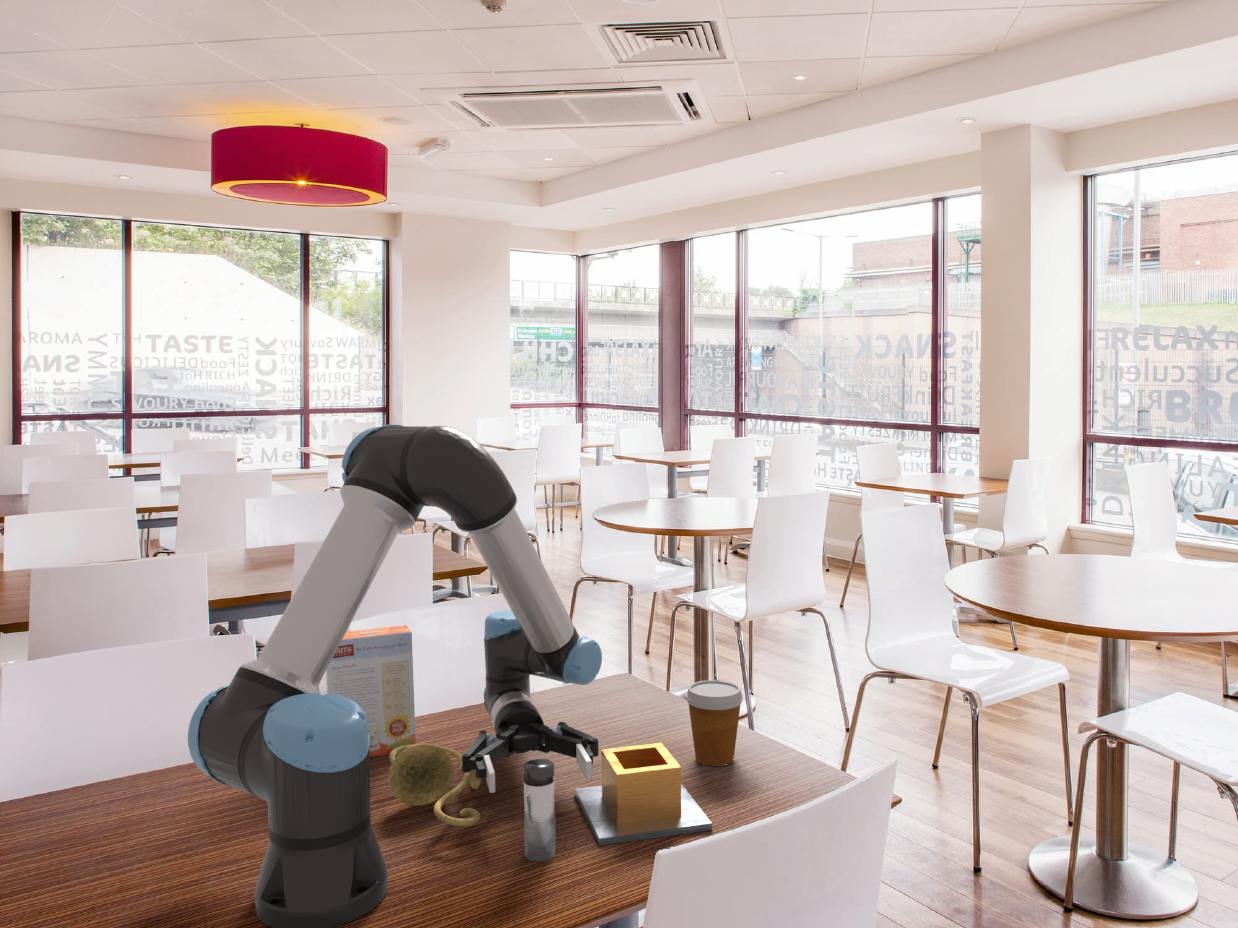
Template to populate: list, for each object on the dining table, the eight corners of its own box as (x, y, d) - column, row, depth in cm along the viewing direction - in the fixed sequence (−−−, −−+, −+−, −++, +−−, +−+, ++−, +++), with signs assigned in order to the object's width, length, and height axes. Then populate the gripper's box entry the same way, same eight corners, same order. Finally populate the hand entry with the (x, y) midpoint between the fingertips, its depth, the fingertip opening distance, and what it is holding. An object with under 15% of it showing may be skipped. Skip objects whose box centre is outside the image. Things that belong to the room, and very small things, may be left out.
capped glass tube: (527, 863, 115) (525, 772, 114) (522, 848, 119) (521, 760, 118) (558, 859, 116) (556, 769, 115) (552, 844, 120) (551, 757, 119)
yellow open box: (599, 845, 119) (598, 787, 119) (575, 794, 135) (574, 743, 134) (712, 829, 123) (711, 773, 123) (676, 782, 139) (675, 732, 138)
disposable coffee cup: (681, 768, 144) (680, 695, 144) (690, 746, 154) (690, 677, 153) (740, 773, 142) (740, 699, 141) (746, 750, 151) (746, 681, 150)
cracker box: (411, 739, 158) (408, 623, 156) (416, 751, 152) (413, 631, 151) (328, 751, 153) (324, 631, 151) (330, 764, 147) (326, 640, 146)
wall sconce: (475, 719, 144) (506, 790, 121) (466, 775, 145) (494, 857, 121) (388, 714, 140) (402, 787, 116) (378, 772, 140) (390, 857, 117)
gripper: (592, 736, 148) (628, 790, 128) (439, 754, 141) (451, 815, 121) (591, 692, 148) (627, 739, 127) (438, 708, 141) (449, 761, 120)
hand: (541, 776), depth 124 cm, fingers open, 13 cm apart
